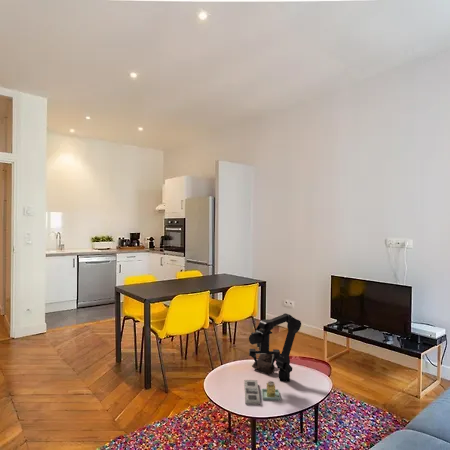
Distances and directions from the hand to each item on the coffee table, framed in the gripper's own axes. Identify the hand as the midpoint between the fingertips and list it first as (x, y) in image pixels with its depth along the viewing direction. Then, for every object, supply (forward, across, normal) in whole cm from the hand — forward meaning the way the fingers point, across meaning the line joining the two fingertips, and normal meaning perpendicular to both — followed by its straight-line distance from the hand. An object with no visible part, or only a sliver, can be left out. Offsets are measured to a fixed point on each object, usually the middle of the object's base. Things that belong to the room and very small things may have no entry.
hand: (264, 366), depth 219 cm
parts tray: (+12, -3, +12) cm, 17 cm away
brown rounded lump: (+12, -3, -25) cm, 28 cm away
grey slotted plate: (+12, +8, +10) cm, 18 cm away
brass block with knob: (+12, -3, +12) cm, 17 cm away
